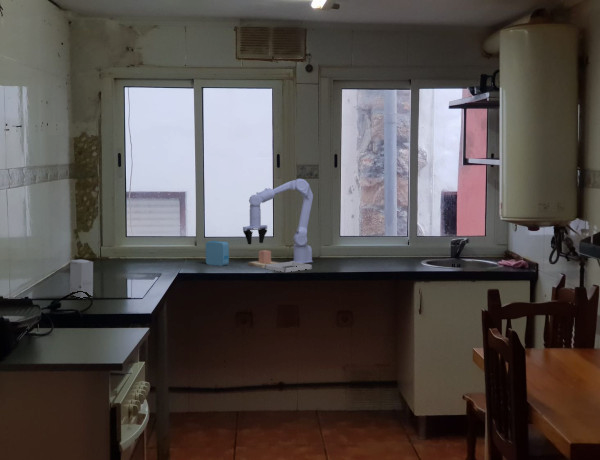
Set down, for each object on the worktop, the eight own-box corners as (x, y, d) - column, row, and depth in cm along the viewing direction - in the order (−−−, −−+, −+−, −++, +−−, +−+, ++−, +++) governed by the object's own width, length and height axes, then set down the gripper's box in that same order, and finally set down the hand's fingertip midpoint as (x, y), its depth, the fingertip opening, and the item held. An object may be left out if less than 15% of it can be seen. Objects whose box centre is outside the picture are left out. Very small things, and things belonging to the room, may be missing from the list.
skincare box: (69, 296, 313) (68, 260, 311) (82, 294, 317) (81, 258, 316) (81, 299, 307) (80, 262, 306) (94, 297, 312) (93, 260, 310)
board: (266, 263, 406) (266, 260, 406) (280, 265, 397) (280, 262, 397) (248, 265, 398) (248, 262, 398) (262, 267, 389) (262, 264, 389)
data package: (229, 265, 399) (228, 242, 398) (223, 266, 395) (223, 243, 394) (211, 263, 406) (211, 240, 404) (205, 264, 402) (205, 241, 401)
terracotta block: (265, 261, 400) (265, 250, 400) (271, 262, 397) (271, 251, 396) (258, 262, 398) (258, 250, 397) (264, 263, 394) (264, 251, 394)
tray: (292, 265, 398) (292, 261, 398) (311, 268, 386) (311, 264, 386) (265, 268, 386) (265, 264, 386) (284, 272, 375) (284, 268, 374)
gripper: (261, 216, 410) (261, 241, 412) (239, 218, 401) (239, 243, 402) (269, 217, 405) (269, 243, 406) (247, 218, 396) (247, 245, 397)
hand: (255, 243), depth 404 cm, fingers open, 7 cm apart
